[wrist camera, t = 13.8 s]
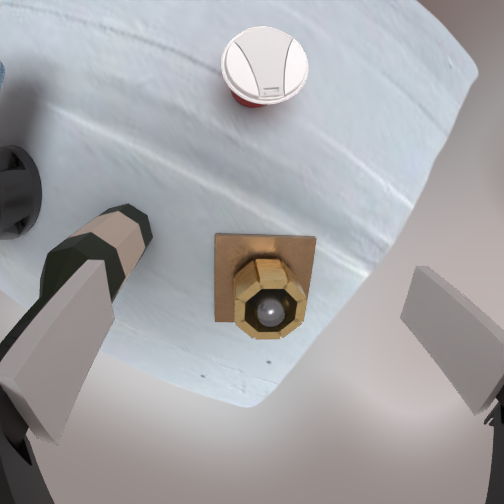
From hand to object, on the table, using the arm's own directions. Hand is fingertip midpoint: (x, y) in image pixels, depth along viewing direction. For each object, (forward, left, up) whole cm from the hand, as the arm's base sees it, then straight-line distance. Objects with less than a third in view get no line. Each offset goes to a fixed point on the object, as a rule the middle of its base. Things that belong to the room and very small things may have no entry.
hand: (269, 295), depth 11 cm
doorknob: (+4, -14, -29) cm, 32 cm away
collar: (+4, -14, -26) cm, 30 cm away
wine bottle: (-16, -7, -29) cm, 34 cm away
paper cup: (+1, +13, -29) cm, 32 cm away
